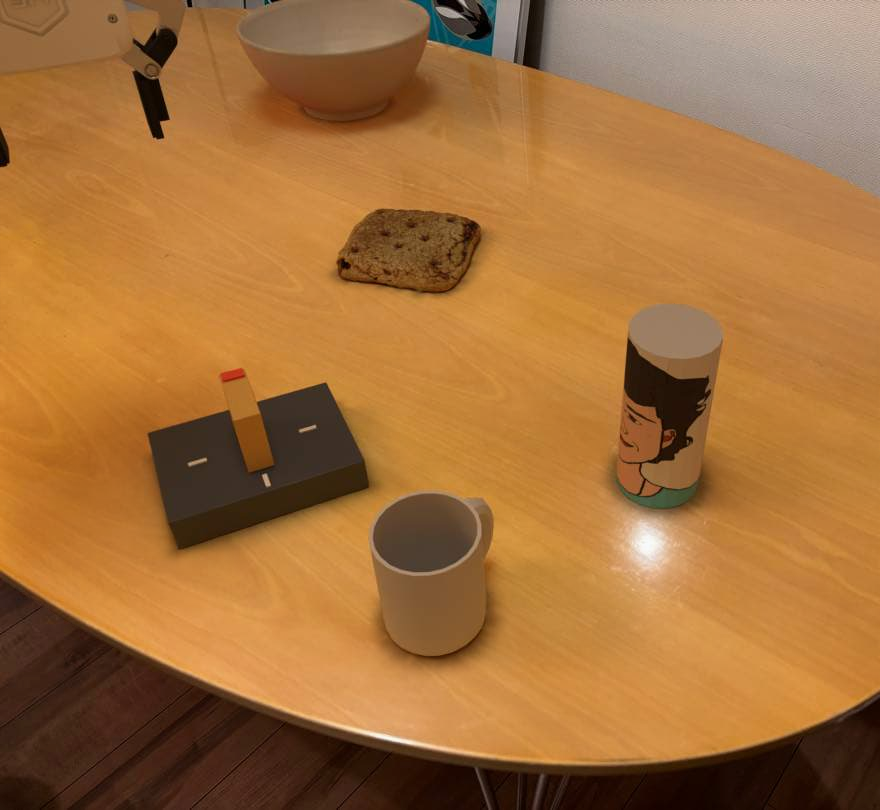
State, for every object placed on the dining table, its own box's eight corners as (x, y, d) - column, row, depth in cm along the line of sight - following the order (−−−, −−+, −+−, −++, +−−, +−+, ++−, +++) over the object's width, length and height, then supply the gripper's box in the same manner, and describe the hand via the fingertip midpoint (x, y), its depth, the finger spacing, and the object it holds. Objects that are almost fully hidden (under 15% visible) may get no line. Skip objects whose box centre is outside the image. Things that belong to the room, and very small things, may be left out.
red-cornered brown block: (274, 465, 69) (259, 410, 66) (249, 473, 69) (232, 418, 65) (258, 419, 73) (243, 365, 70) (234, 426, 73) (217, 372, 69)
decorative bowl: (453, 76, 140) (448, -4, 133) (410, 148, 120) (401, 58, 112) (292, 67, 143) (277, -12, 135) (223, 136, 123) (202, 47, 115)
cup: (362, 625, 62) (344, 541, 56) (454, 536, 68) (446, 452, 62) (442, 678, 59) (431, 595, 53) (530, 580, 65) (529, 495, 59)
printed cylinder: (639, 440, 76) (654, 293, 66) (711, 469, 73) (738, 321, 64) (601, 487, 72) (611, 338, 62) (676, 520, 69) (699, 370, 59)
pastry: (310, 243, 101) (305, 219, 99) (444, 204, 108) (442, 181, 106) (373, 316, 90) (369, 291, 88) (518, 268, 97) (517, 244, 95)
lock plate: (178, 549, 67) (167, 521, 65) (157, 458, 74) (146, 431, 72) (369, 486, 72) (364, 458, 70) (331, 407, 79) (325, 380, 77)
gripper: (-219, -126, 43) (-64, 195, 54) (152, -152, 49) (223, 142, 60) (-199, -150, 48) (-61, 147, 59) (134, -171, 54) (203, 103, 65)
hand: (82, 145), depth 60 cm, fingers open, 9 cm apart
